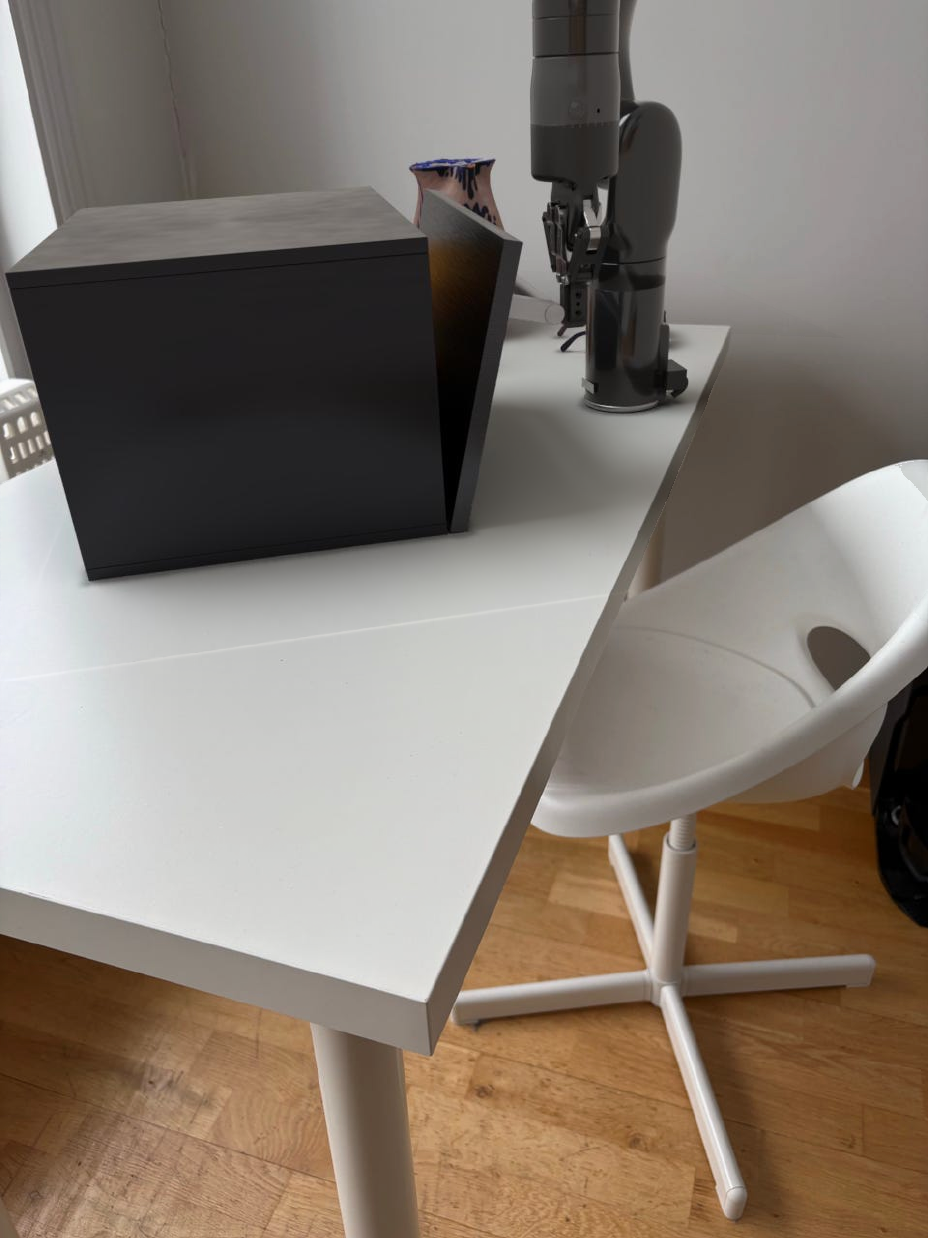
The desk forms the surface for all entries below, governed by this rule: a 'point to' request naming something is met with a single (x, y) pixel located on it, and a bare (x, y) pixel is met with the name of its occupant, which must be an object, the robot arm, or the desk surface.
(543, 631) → the desk surface
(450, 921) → the desk surface
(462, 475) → the oven door
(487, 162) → the ceramic pitcher
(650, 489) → the desk surface
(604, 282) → the robot arm
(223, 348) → the oven
